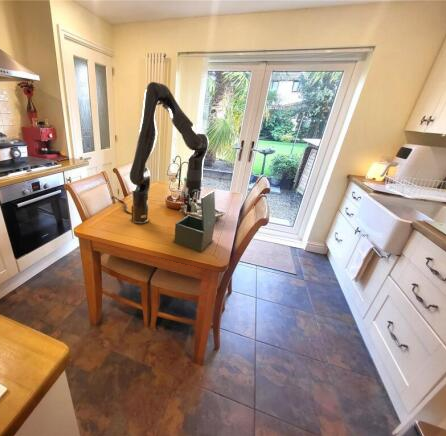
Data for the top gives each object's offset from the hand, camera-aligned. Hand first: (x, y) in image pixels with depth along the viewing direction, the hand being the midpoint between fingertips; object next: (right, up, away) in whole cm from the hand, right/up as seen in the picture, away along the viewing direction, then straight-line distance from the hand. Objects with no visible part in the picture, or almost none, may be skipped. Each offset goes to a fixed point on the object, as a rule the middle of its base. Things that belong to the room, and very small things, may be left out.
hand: (191, 210), depth 119 cm
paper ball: (0, -1, 0) cm, 1 cm away
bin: (+2, -16, +6) cm, 17 cm away
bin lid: (+7, 0, -5) cm, 9 cm away
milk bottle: (+2, +6, +54) cm, 54 cm away
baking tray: (+10, -2, +37) cm, 38 cm away
